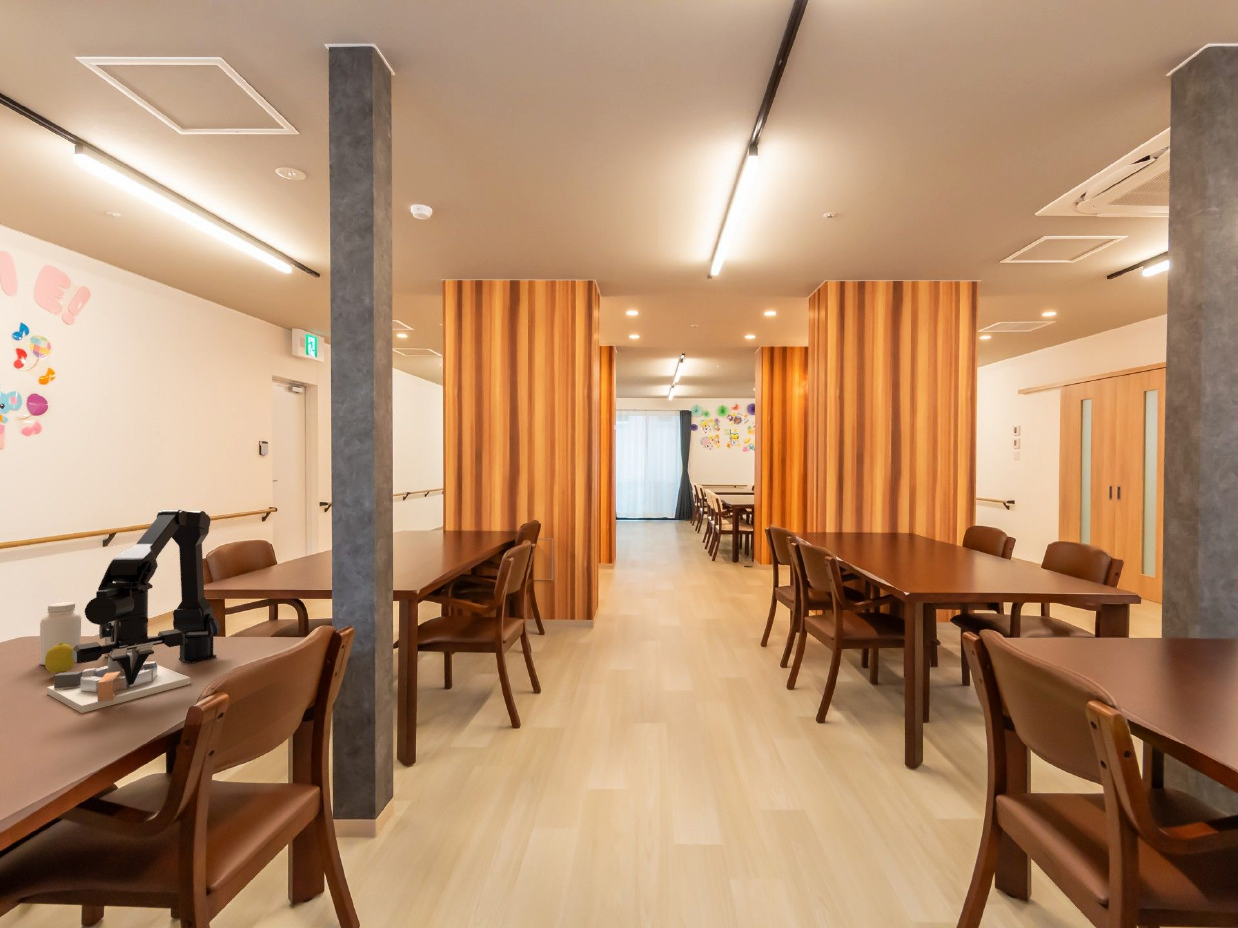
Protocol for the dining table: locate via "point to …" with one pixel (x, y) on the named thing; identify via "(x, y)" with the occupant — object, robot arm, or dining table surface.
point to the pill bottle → (59, 628)
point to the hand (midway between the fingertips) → (130, 684)
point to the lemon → (59, 658)
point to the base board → (84, 701)
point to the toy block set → (114, 680)
